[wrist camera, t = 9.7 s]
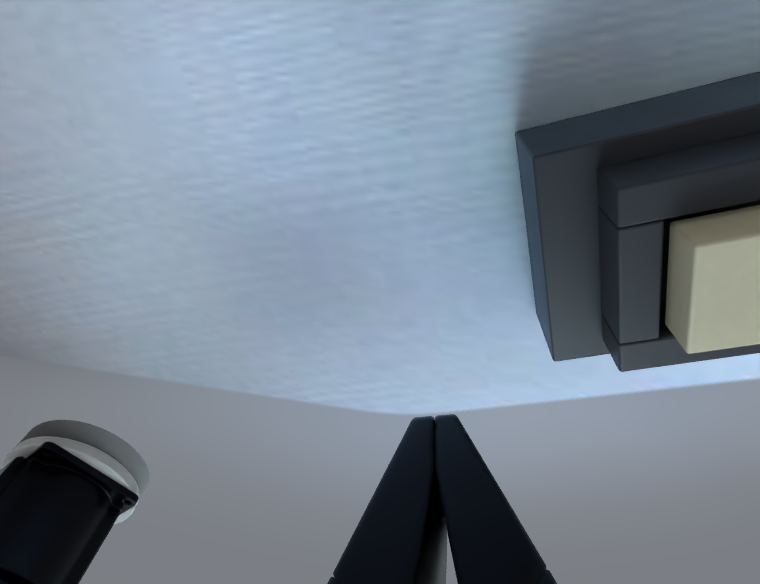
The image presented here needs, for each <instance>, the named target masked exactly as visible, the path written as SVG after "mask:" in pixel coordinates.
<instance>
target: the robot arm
mask: <svg viewBox="0 0 760 584" xmlns="http://www.w3.org/2000/svg"><path fill="white" fill-rule="evenodd" d="M138 500H139V497H138V495H137V494H135V493H134V492H132V491H130V490H129V489H127V488H126V487H124V486H122V485H121V484H119V483H118V482H116V481H114V480H113V479H111V478H110V477H108V476H106V475H105V474H103V473H102V472H100V471H99V470H97V469H95V468H94V467H92V466H91V465H89V464H87V463H86V462H84V461H83V460H81V459H79V458H78V457H76V456H75V455H73V454H71V453H70V452H68V451H67V450H65V449H63V448H62V447H60V446H59V445H57V444H55V443H53V442H44V443H43V444H42V445H40V446H39V447H38V448H37V449H35V450H34V451H33V452H32V453H31V454H29V455H28V456H27V457H26V458H25V457H23V456H20V457H16V458H14V459H13V460H12V461H11V462H10V463H8V464H7V465H6V466H5V467H4V468H3V469H1V470H0V584H79V582H80V580H81V579H82V577H83V575H84V574H85V572H86V570H87V569H88V567H89V565H90V563H91V562H92V560H93V559H94V557H95V555H96V553H97V552H98V550H99V548H100V547H101V545H102V543H103V542H104V540H105V538H106V537H107V535H108V533H109V531H110V530H111V528H112V526H113V525H114V523H115V521H116V520H117V518H118V516H119V515H121V514H122V513H124V512H126V511H127V510H129V509H131V508H132V507H134V506H135V505H136V503H137V501H138ZM447 532H448V537H449V542H450V547H451V552H452V557H453V562H454V567H455V571H456V577H457V582H458V584H557V583H556V581H555V579H554V578H553V576H552V574H551V573H550V571H549V570H547V569H546V565H545V563H544V561H543V560H542V558H541V556H540V555H539V553H538V551H537V550H536V548H535V546H534V545H533V543H532V542H531V539H530V538H529V536H528V535H527V533H526V531H525V529H524V528H523V526H522V524H521V523H520V521H519V519H518V518H517V516H516V514H515V513H514V511H513V509H512V508H511V506H510V504H509V502H508V501H507V499H506V497H505V496H504V494H503V492H502V491H501V489H500V487H499V486H498V484H497V482H496V481H495V479H494V477H493V476H492V474H491V472H490V471H489V469H488V467H487V466H486V464H485V462H484V461H483V459H482V457H481V455H480V454H479V452H478V450H477V449H476V447H475V445H474V444H473V442H472V440H471V439H470V437H469V435H468V434H467V432H466V431H465V429H464V427H463V425H462V424H461V422H460V420H459V419H458V417H457V416H456V415H454V414H449V415H438V416H436V417H435V419H434V417H432V416H426V417H416V418H414V419H413V420H412V421H411V423H410V425H409V427H408V428H407V431H406V433H405V434H404V436H403V438H402V440H401V442H400V444H399V446H398V448H397V450H396V452H395V454H394V456H393V458H392V460H391V461H390V464H389V465H388V468H387V469H386V471H385V473H384V475H383V477H382V479H381V481H380V483H379V485H378V487H377V489H376V491H375V493H374V495H373V497H372V499H371V500H370V503H369V504H368V506H367V508H366V510H365V512H364V514H363V516H362V518H361V520H360V522H359V524H358V526H357V528H356V530H355V532H354V533H353V535H352V537H351V539H350V541H349V543H348V545H347V547H346V549H345V551H344V553H343V555H342V557H341V559H340V561H339V563H338V565H337V567H336V568H335V570H334V572H333V575H334V577H335V578H334V577H331V578H330V580H329V582H328V584H446V562H447Z"/></svg>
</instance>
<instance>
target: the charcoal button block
mask: <svg viewBox="0 0 760 584" xmlns="http://www.w3.org/2000/svg"><path fill="white" fill-rule="evenodd" d="M515 136H516V145H517V153H518V161H519V170H520V178H521V187H522V195H523V203H524V212H525V220H526V229H527V237H528V245H529V254H530V262H531V271H532V279H533V287H534V296H535V304H536V313H537V316H538V319H539V322H540V325H541V328H542V330H543V333H544V336H545V339H546V342H547V344H548V347H549V350H550V353H551V356H552V359H553V360H554V361H562V360H569V359H576V358H583V357H590V356H597V355H603V354H611V356H612V358H613V360H614V362H615V364H616V365H617V367H618V369H619V371H622V372H623V371H631V370H638V369H645V368H652V367H660V366H667V365H674V364H682V363H689V362H696V361H703V360H711V359H718V358H725V357H733V356H740V355H747V354H755V353H760V344H756V345H748V346H741V347H734V348H727V349H720V350H713V351H706V352H699V353H691V354H689V353H686V351H685V350H684V349H683V347H682V346H681V345H680V343H679V342H678V340H677V339H676V338H675V336H674V335H673V334H672V332H671V331H670V330H669V328H668V327H667V326H666V324H665V315H666V295H667V274H668V254H669V234H670V223H671V222H673V221H678V220H683V219H689V218H694V217H699V216H704V215H709V214H714V213H719V212H725V211H730V210H735V209H740V208H745V207H750V206H755V205H760V72H756V73H752V74H748V75H744V76H740V77H736V78H732V79H728V80H724V81H720V82H716V83H712V84H708V85H704V86H700V87H695V88H691V89H687V90H683V91H679V92H675V93H671V94H667V95H663V96H659V97H655V98H651V99H647V100H643V101H638V102H634V103H630V104H626V105H622V106H618V107H614V108H610V109H606V110H602V111H598V112H594V113H590V114H586V115H581V116H577V117H573V118H569V119H565V120H561V121H557V122H553V123H549V124H545V125H541V126H537V127H533V128H529V129H525V130H520V131H517V132H516V133H515Z"/></svg>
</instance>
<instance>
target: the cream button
mask: <svg viewBox="0 0 760 584" xmlns="http://www.w3.org/2000/svg"><path fill="white" fill-rule="evenodd" d="M665 324H666V326H667V327H668V328H669V330H670V331H671V332H672V334H673V335H674V336H675V338H676V339H677V340H678V342H679V343H680V345H681V346H682V347H683V349H684V350H685V351H686V353H689V354H691V353H699V352H706V351H713V350H720V349H727V348H734V347H741V346H748V345H756V344H760V205H755V206H750V207H745V208H740V209H735V210H730V211H725V212H719V213H714V214H709V215H704V216H699V217H694V218H689V219H683V220H678V221H673V222H671V223H670V234H669V254H668V274H667V295H666V315H665Z"/></svg>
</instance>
